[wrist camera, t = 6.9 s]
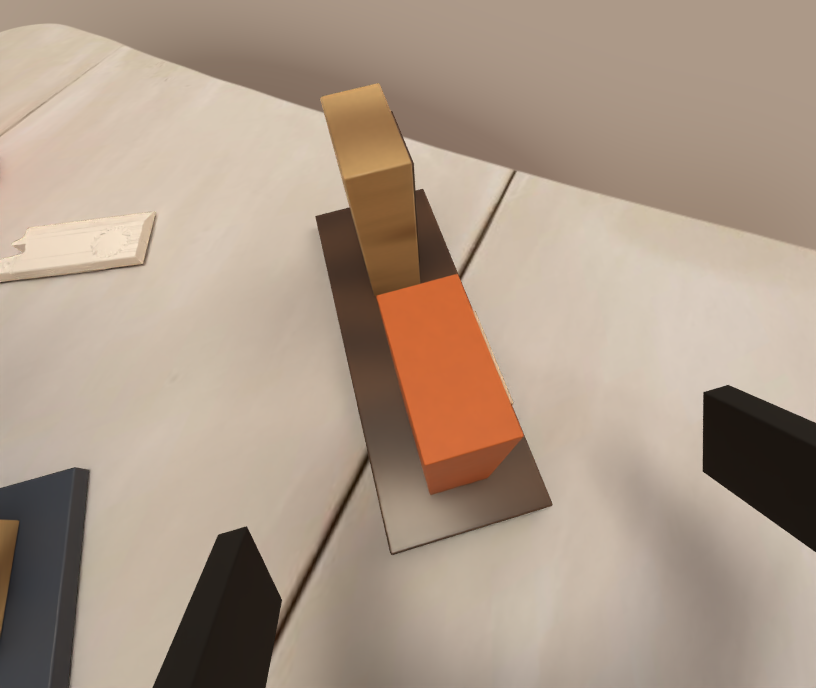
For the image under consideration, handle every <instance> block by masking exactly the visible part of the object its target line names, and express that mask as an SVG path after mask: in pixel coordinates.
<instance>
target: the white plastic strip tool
mask: <svg viewBox="0 0 816 688" xmlns="http://www.w3.org/2000/svg"><path fill="white" fill-rule="evenodd" d="M155 214H156V212H147V213H139V214H131V215H123V216H116V217H108V218H100V219H92V220H85V221H77V222H69V223H62V224H54V225H46V226H38V227H31V228H28V229H27V231H26V233H25V235H24V237H23V238H22V239H19V240H16V241H15V242H13V243H12V244H11V245H12V246H14V247H15V248H17V249H18V250H20V251H21V252H23V253H22V254H21V255H16V256H12V257H7V258H3V259H0V282H4V281H12V280H22V279H23V278H24V279H30V278H39V277H43V276H44V277H48V276H50V275H53V276H57V275H58V274H62V275H66V273H71V274H75V273H74V272H80V273H83V272H82V271H88V272H92V271H90V270H97V271H100V270H98V269H104V270H106V268H114V267H122V266H129V265H137V264H143V261H144V257H145V253H146V249H147V245H148V241H149V237H150V233H151V229H152V225H153V221H154V217H155Z"/></svg>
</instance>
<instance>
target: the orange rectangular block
mask: <svg viewBox="0 0 816 688" xmlns="http://www.w3.org/2000/svg"><path fill="white" fill-rule="evenodd" d="M376 298H377V302H378V305H379V309H380V313H381V317H382V321H383V325H384V329H385V332H386V336H387V340H388V344H389V348H390V352H391V356H392V359H393V363H394V367H395V371H396V375H397V379H398V382H399V386H400V390H401V393H402V397H403V401H404V404H405V408H406V411H407V415H408V418H409V422H410V426H411V429H412V433H413V436H414V440H415V443H416V447H417V451H418V454H419V458H420V461H421V465H422V468H423V472H424V476H425V479H426V483H427V486H428V490H429V493H430V495H433V494H436V493H439V492H443V491H446V490H449V489H453V488H456V487H459V486H463V485H466V484H469V483H473V482H476V481H479V480H483V479H486V478H488V477H489V476H490V475H491V474H492V472H493V471H494V470H495V469H496V468H497V467H498V466H499V464H500V463H501V462H502V461H503V460H504V459H505V457H506V456H507V455H508V454H509V453H510V452H511V451H512V449H513V448H514V447H515V446H516V445H517V444H518V442H519V441H520V440H521V439H522V438H523V437H524V434H523V432H522V430H521V427H520V425H519V422H518V420H517V417H516V415H515V413H514V410H513V408H512V405H513V401H512V398H511V396H510V393H509V391H508V389H507V386H506V384H505V381H504V379H503V376H502V374H501V372H500V369H499V367H498V364H497V362H496V360H495V357H494V355H493V352H492V350H491V347H490V345H489V343H488V340H487V338H486V335H485V333H484V331H483V328H482V326H481V323H480V321H479V318H478V316H477V314H476V311H473V310H472V308H471V305H470V303H469V300H468V298H467V295H466V293H465V290H464V288H463V286H462V283H461V281H460V278H459V276H458V274H455V275H451V276H448V277H444V278H440V279H436V280H433V281H429V282H425V283H421V284H418V285H414V286H410V287H407V288H403V289H399V290H395V291H392V292H388V293H384V294H380V295H377V297H376Z"/></svg>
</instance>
